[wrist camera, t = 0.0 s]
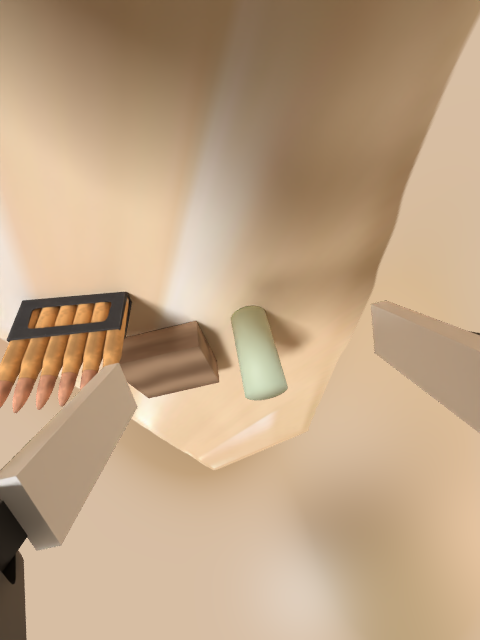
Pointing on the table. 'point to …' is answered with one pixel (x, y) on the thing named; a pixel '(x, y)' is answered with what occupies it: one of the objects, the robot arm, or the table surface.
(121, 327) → the ammunition clip
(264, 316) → the sage cylinder
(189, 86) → the table surface
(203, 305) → the table surface
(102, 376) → the robot arm
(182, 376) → the walnut plinth
